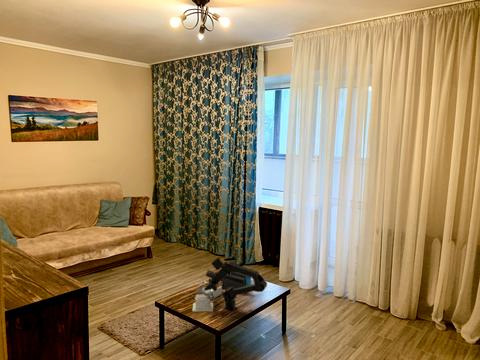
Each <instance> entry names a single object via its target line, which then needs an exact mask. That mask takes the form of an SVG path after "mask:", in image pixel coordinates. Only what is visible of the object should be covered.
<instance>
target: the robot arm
mask: <svg viewBox="0 0 480 360" xmlns="http://www.w3.org/2000/svg"><path fill="white" fill-rule="evenodd" d="M211 265H212V267H213V268H214V269H215V270H216V272H214V271H212V270H209V269H208V270H207V271H206V273H205V276H206V277H207V278H208V282H207V283H206V285H205V287H206V288H205V289H204V290H205V291H206V290H209V289H213V290H214V291H216V290H217V288H218V285H219V283H220V282H221V281H222V280H223V278H224V277H225V276H226V275H227V274H228V275H229V276H230V275H231V272H238V273H241V274H244V275H246V276H249V277H251V279H252V280H253V284H252V283H251V285H248V286H244V287H240V288H233V286H232V287H228V288H227V289H224V291H223V295H222V298H223V300H224V305H225V307H224V308H223V309H224V310H227V311H229V312H233V311H235V310H236V309H237V306H236V299H237V296H238V295H242V294H243V293H245V294H246V293H252V292H256V293H262V292H264V291H265V289H266V288H267V287H268V282H267V281H266V280H265V279H264V277H263V276H262V275H260V273H259V271H258V270H254V269H251V268H247V267H245V266H241V265H239V264H238V263H237V262H235V261H233V260H229V261H224V262H222V260H221V258H220V257H217V258H216V259H215V260H214V261H212V262H211ZM243 295H244V294H243Z"/></svg>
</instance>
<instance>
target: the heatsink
mask: <svg viewBox="0 0 480 360" xmlns="http://www.w3.org/2000/svg"><path fill="white" fill-rule="evenodd" d="M194 300H195V303H196V309H210V303H211V298H209V297H207V296H205V295H203V294H202V295H199V294H196V295H195V296H194Z"/></svg>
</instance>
